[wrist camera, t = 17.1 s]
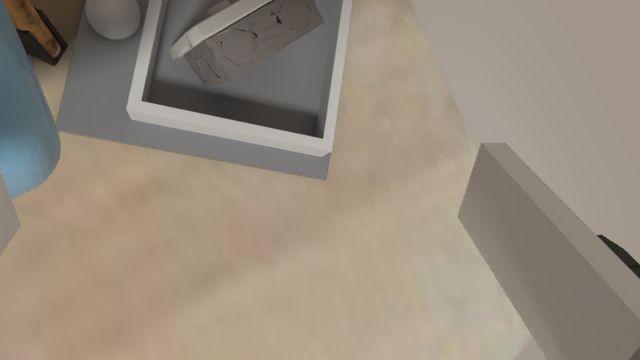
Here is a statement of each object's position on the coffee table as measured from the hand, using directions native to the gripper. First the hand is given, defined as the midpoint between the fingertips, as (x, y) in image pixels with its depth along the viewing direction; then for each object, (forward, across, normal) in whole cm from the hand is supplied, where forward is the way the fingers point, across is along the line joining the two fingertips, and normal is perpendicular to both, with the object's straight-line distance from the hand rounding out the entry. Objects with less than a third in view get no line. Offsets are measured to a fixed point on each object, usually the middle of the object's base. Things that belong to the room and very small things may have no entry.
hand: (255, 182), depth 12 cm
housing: (+26, -2, -4) cm, 26 cm away
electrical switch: (+25, -1, -4) cm, 25 cm away
